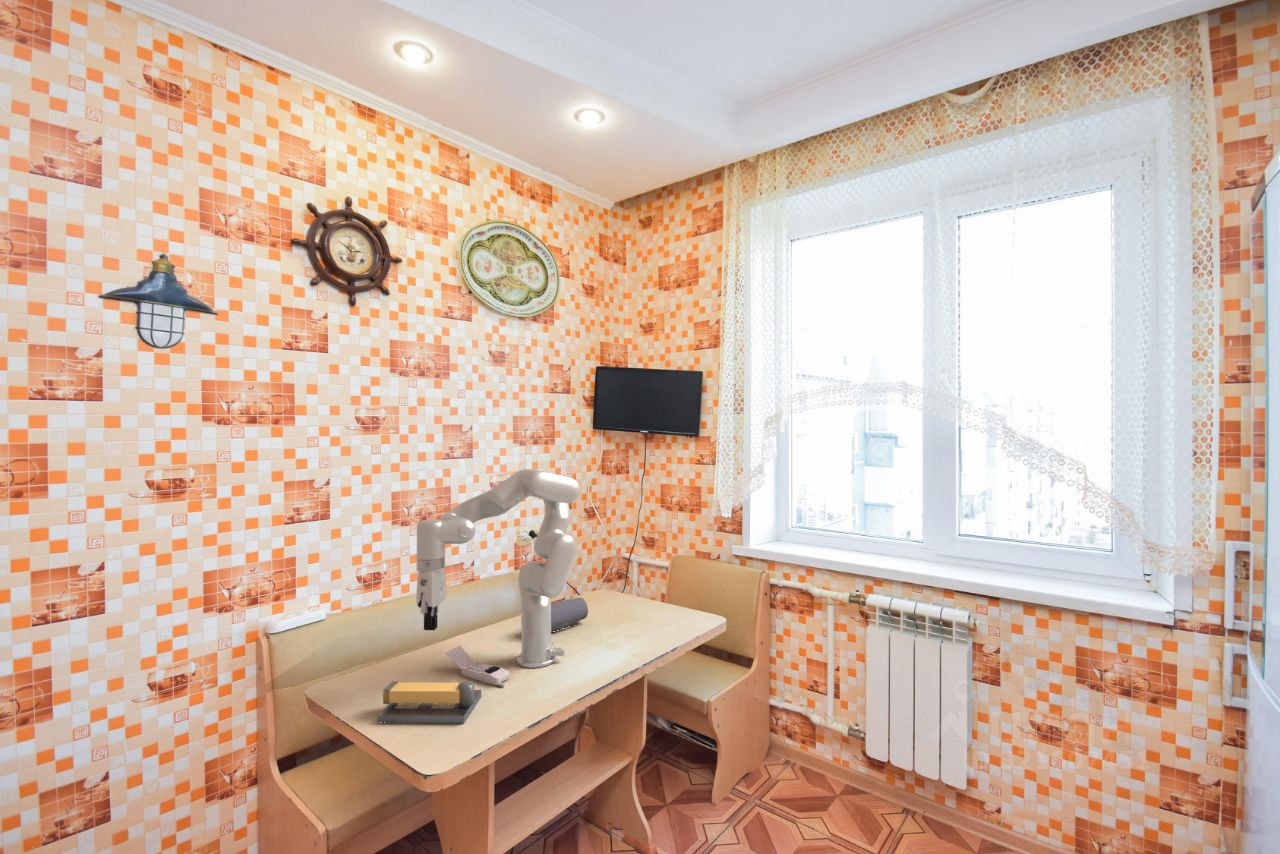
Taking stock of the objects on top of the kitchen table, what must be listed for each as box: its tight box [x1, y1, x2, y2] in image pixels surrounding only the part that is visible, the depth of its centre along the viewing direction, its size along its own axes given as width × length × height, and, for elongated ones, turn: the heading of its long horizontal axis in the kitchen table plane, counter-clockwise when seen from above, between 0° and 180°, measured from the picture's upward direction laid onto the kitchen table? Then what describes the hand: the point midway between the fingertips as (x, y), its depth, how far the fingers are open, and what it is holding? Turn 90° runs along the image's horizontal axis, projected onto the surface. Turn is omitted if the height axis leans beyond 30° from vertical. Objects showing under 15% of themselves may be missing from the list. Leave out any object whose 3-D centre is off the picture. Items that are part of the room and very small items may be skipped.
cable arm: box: [382, 680, 475, 707], centre depth 144 cm, size 23×5×5 cm, turn 88°
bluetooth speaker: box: [551, 597, 589, 632], centre depth 205 cm, size 23×9×10 cm, turn 136°
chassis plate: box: [377, 689, 482, 725], centre depth 145 cm, size 22×14×2 cm, turn 88°
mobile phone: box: [444, 645, 510, 688], centre depth 166 cm, size 6×6×25 cm
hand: (430, 629), depth 153 cm, fingers closed
